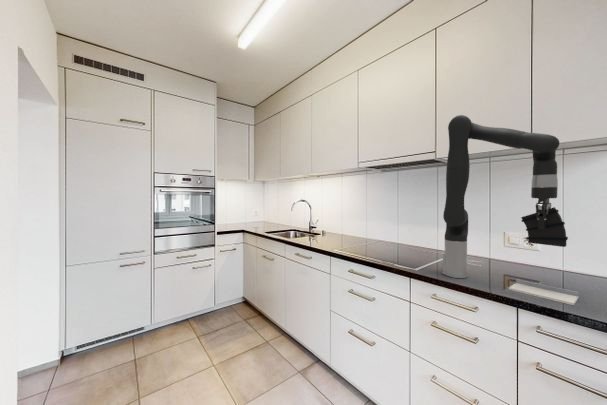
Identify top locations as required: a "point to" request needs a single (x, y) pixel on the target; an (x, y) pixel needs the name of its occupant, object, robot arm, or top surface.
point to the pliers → (474, 261)
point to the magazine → (553, 230)
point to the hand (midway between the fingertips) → (542, 228)
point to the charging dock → (545, 291)
